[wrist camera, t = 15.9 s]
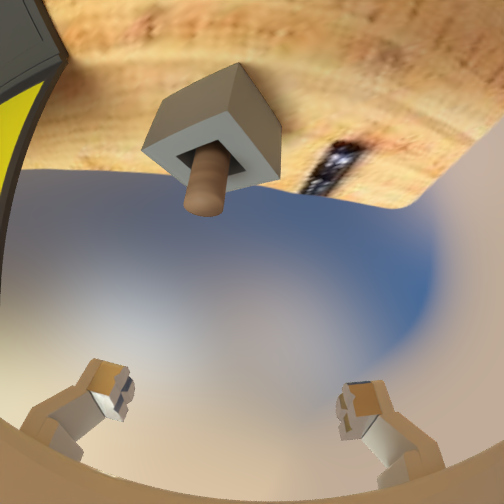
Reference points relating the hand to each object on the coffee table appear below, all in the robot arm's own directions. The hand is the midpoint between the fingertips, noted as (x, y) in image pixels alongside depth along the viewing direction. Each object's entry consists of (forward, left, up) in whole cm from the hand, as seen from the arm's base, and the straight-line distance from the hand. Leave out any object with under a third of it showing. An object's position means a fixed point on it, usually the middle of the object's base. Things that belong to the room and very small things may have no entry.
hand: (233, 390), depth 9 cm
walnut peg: (+7, -9, -23) cm, 26 cm away
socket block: (+7, -9, -26) cm, 29 cm away
